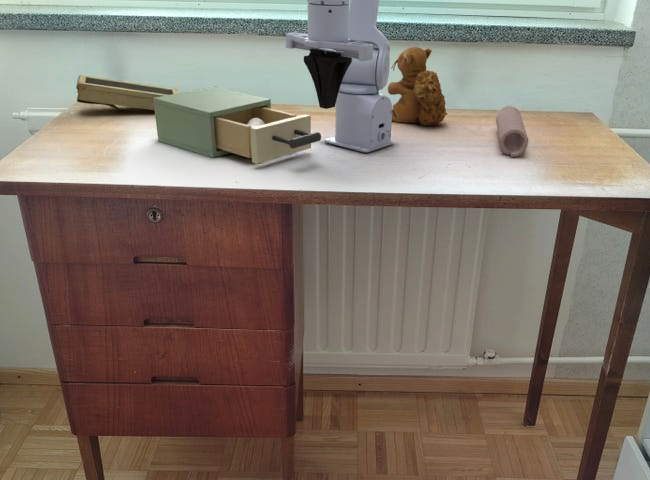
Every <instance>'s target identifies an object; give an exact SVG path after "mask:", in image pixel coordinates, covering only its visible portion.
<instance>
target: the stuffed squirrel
mask: <svg viewBox="0 0 650 480" xmlns="http://www.w3.org/2000/svg"><path fill="white" fill-rule="evenodd" d="M432 52H433V50H432V49H431V48H430V47H429V48H425V49H423V48H421V47H418V46H410V47H408V48H406V49H405V50H403V51H402V52H401V53H400V54H399V55H398V57H397V59H396V60H395V61H394V62H393V63H392V65H391V69H392V71H393V72H395V67H396V66H397V68H398V70H399V71H400V73H401V76H402V77H401V79H400V80H399V81H393V82H392V81H391V82H390V83H389V84H388V86H387V93H388V95H391V96H396V95H400V97H399V99H398V101H397V102H396V103H394V104H392V122H396V123H404V124H407V123H408V124H415V123H418V124H419V125H421V126H427V127H428V126H432V125H433V126H434V125H439V124H440V123H441V122H443V121H444V119H445V117H446V116H447V115H448V114H449V113H447V111H446V110H447V109H446V99H445V95H444V94H443V92H442V91H443V89H442V88H441V82H440V80H439V76H438V73H437V72H435V71H433V70H429V69H427V60H428V59H429V58H430V56H431V54H432Z"/></svg>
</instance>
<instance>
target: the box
mask: <svg viewBox="0 0 650 480" xmlns="http://www.w3.org/2000/svg"><path fill="white" fill-rule="evenodd" d="M75 88H76V91H77V92H76V93H77V97H76V102H77V103H81V104H86V105H87V104H89V105H102V106H103V105H104V106H107V107H110V108H113V109H115V110H117V111H119V112H122V110H121V109H120V107H127V108H135V109H142V110H150V111H155V110H154V101H153V98H156V97H161V96H166V95H172V94H177V93H180V91H179V89H178V88H173V87H167V86H166V87H165V86H160V85H153V84H152V85H151V84H146V83H139V82H132V81H126V80H118V79H112V78H103V77H98V76H90V75H85V74H84V75H83V74H79V75H78V77H77V81H76V86H75ZM118 106H120V107H118Z"/></svg>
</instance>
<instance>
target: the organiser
mask: <svg viewBox="0 0 650 480" xmlns="http://www.w3.org/2000/svg"><path fill="white" fill-rule="evenodd" d="M271 100H272V99H271V98H267V97H263V96H257V95H254V94H250V93H245V92H241V91H236V90H231V89H227V88H223V87H218V86H210V87H204V88H199V89H193V90H189V91H183V92H179V93H177V94H172V95H166V96H161V97H156V98H153V101H154V110H153V111H154V118H155V127H156V134H157V140H158V142H161V143H164V144H167V145H171V146H174V147H177V148H181V149H183V150H187V151H191V152H193V153H196V154H199V155H202V156H206V157H210V158H212V159H214V158H218V157H221V156H225V155H228V154H231V152H228V151H225V150H221V149H218V148H216V141H215V128H214V117H215V116H220V115H224V114H229V113H233V112H238V111H242V110H247V109H251V108H256V107H260V106H262V107H266V108H270V109H272V101H271Z"/></svg>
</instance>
